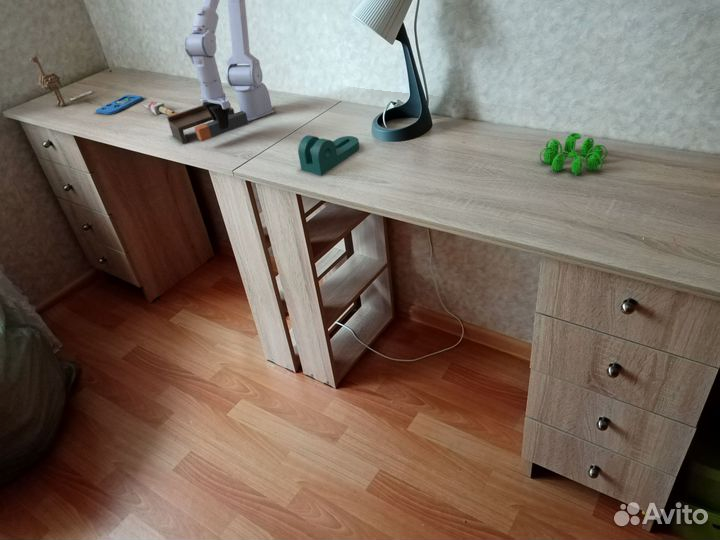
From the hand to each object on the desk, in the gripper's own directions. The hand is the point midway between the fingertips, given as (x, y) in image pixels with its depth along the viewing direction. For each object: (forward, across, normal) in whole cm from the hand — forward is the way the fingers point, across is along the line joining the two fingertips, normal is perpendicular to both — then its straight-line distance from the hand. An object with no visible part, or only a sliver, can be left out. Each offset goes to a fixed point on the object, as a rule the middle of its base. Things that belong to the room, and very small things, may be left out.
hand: (222, 126), depth 160 cm
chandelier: (+4, +80, +52) cm, 95 cm away
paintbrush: (+5, -39, -5) cm, 40 cm away
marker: (+1, 0, 0) cm, 1 cm away
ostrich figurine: (+5, -81, -24) cm, 85 cm away
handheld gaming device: (+4, -59, -13) cm, 61 cm away
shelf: (+4, -12, -1) cm, 13 cm away
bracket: (+4, +34, +15) cm, 37 cm away
